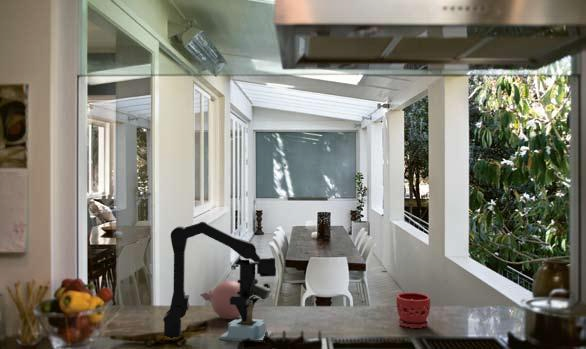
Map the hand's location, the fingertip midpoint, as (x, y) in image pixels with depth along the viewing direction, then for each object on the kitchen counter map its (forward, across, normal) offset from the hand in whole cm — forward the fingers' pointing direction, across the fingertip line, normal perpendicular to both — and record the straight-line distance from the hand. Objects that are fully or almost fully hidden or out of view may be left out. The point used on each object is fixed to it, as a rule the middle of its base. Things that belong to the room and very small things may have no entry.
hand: (246, 319), depth 184 cm
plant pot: (+6, +35, -57) cm, 67 cm away
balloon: (+6, +22, +19) cm, 30 cm away
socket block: (+6, 0, 0) cm, 6 cm away
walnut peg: (+3, 0, 0) cm, 3 cm away
